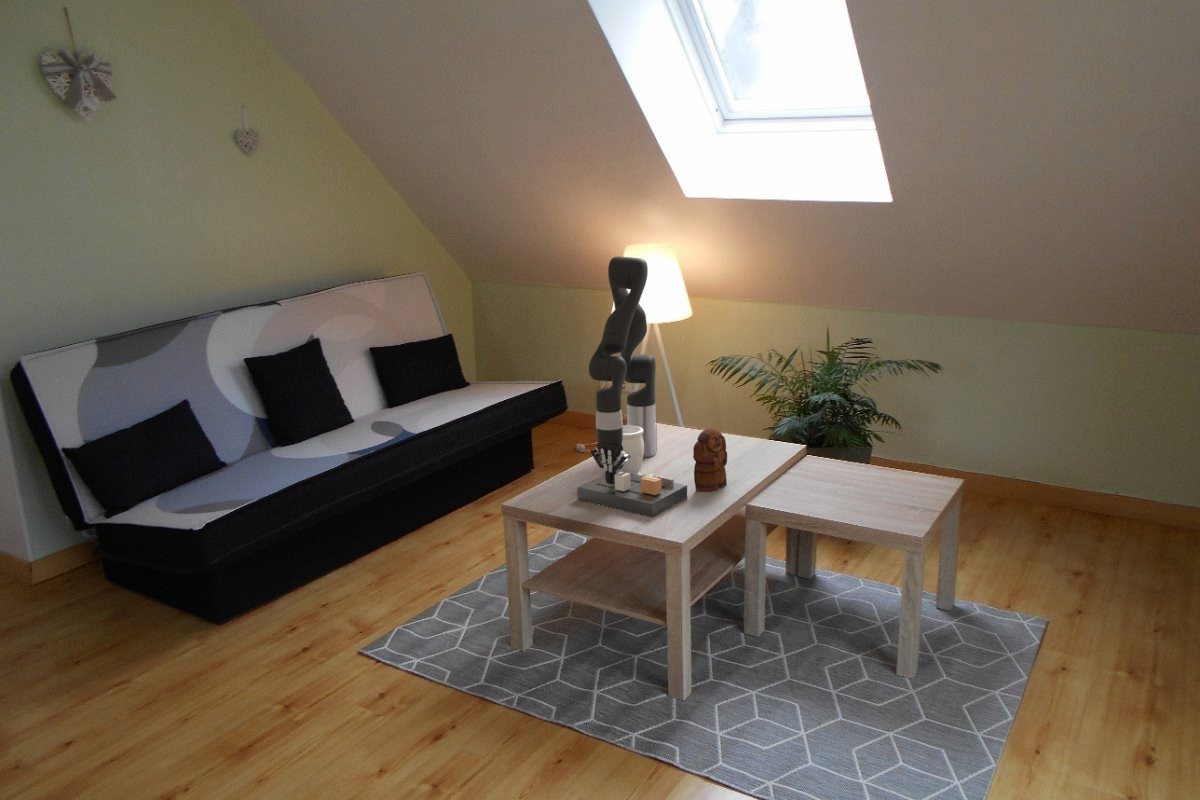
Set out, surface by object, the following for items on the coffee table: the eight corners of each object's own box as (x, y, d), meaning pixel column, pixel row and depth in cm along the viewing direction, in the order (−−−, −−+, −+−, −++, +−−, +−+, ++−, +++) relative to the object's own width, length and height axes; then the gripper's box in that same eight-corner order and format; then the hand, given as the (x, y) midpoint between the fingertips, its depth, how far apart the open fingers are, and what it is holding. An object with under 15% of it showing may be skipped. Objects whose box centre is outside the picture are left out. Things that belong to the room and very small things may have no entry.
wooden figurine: (709, 495, 292) (709, 435, 287) (691, 490, 296) (691, 432, 291) (731, 483, 301) (731, 426, 296) (713, 479, 304) (713, 422, 300)
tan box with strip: (646, 489, 285) (646, 475, 284) (661, 492, 282) (661, 478, 281) (640, 492, 283) (640, 477, 282) (655, 495, 280) (655, 481, 279)
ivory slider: (621, 486, 288) (621, 470, 287) (630, 488, 286) (630, 472, 285) (615, 489, 286) (614, 474, 285) (624, 491, 284) (623, 476, 283)
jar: (641, 482, 304) (640, 434, 300) (607, 481, 306) (606, 433, 302) (646, 471, 314) (646, 425, 310) (614, 470, 316) (613, 424, 312)
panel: (614, 482, 305) (613, 462, 303) (687, 498, 289) (687, 477, 288) (577, 499, 291) (577, 478, 289) (652, 517, 276) (651, 495, 274)
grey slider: (616, 473, 299) (616, 459, 298) (625, 475, 297) (624, 461, 296) (610, 476, 296) (609, 462, 295) (618, 478, 295) (618, 463, 293)
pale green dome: (647, 478, 294) (647, 472, 294) (658, 481, 292) (658, 474, 291) (639, 482, 291) (639, 475, 291) (650, 484, 289) (650, 478, 288)
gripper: (636, 425, 283) (637, 483, 287) (598, 418, 291) (600, 475, 295) (620, 431, 277) (621, 491, 282) (582, 424, 285) (584, 482, 289)
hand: (610, 483), depth 288 cm, fingers closed
